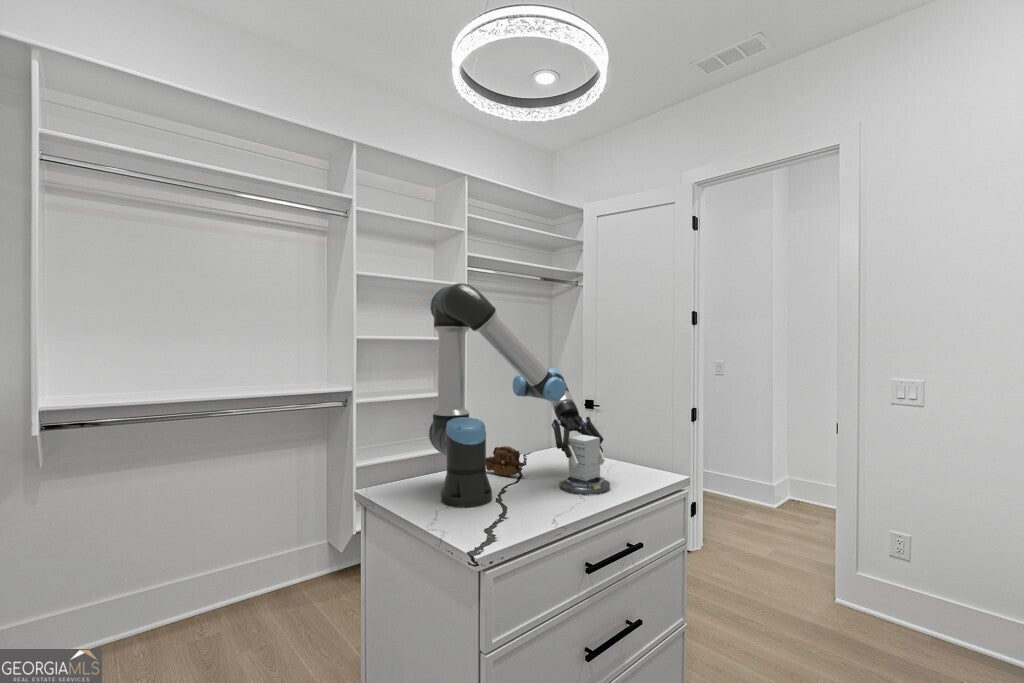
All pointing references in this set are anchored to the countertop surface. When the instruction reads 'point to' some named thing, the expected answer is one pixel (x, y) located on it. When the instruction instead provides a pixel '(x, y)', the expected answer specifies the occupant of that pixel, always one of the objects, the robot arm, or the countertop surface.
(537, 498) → the countertop surface
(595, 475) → the supplement box
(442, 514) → the countertop surface
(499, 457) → the wooden carving
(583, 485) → the ring
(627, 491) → the countertop surface
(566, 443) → the robot arm
